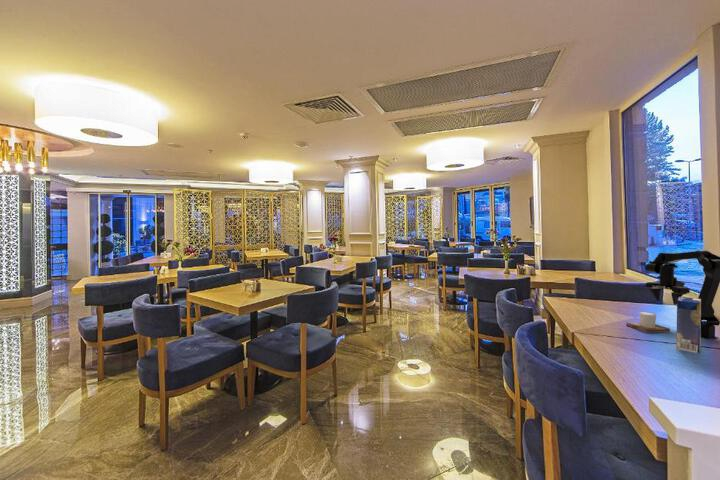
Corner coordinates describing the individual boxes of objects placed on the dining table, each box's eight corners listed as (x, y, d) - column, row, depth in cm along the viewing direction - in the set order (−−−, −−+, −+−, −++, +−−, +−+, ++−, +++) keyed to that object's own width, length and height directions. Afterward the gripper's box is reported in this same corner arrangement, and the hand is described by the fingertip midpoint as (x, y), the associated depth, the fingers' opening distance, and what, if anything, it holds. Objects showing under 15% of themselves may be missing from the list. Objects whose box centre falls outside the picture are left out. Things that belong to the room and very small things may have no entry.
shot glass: (660, 328, 159) (660, 315, 159) (644, 328, 160) (645, 315, 160) (650, 324, 166) (650, 311, 166) (635, 324, 167) (635, 311, 167)
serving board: (669, 331, 157) (669, 328, 157) (647, 332, 157) (647, 329, 157) (647, 324, 169) (647, 321, 169) (626, 325, 169) (626, 322, 169)
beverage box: (700, 346, 138) (701, 298, 137) (699, 353, 131) (700, 303, 130) (678, 342, 143) (679, 296, 142) (676, 348, 136) (677, 300, 135)
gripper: (699, 277, 160) (699, 306, 160) (663, 272, 178) (662, 298, 179) (679, 277, 159) (679, 307, 160) (645, 272, 178) (644, 299, 178)
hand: (666, 302), depth 169 cm, fingers open, 9 cm apart
